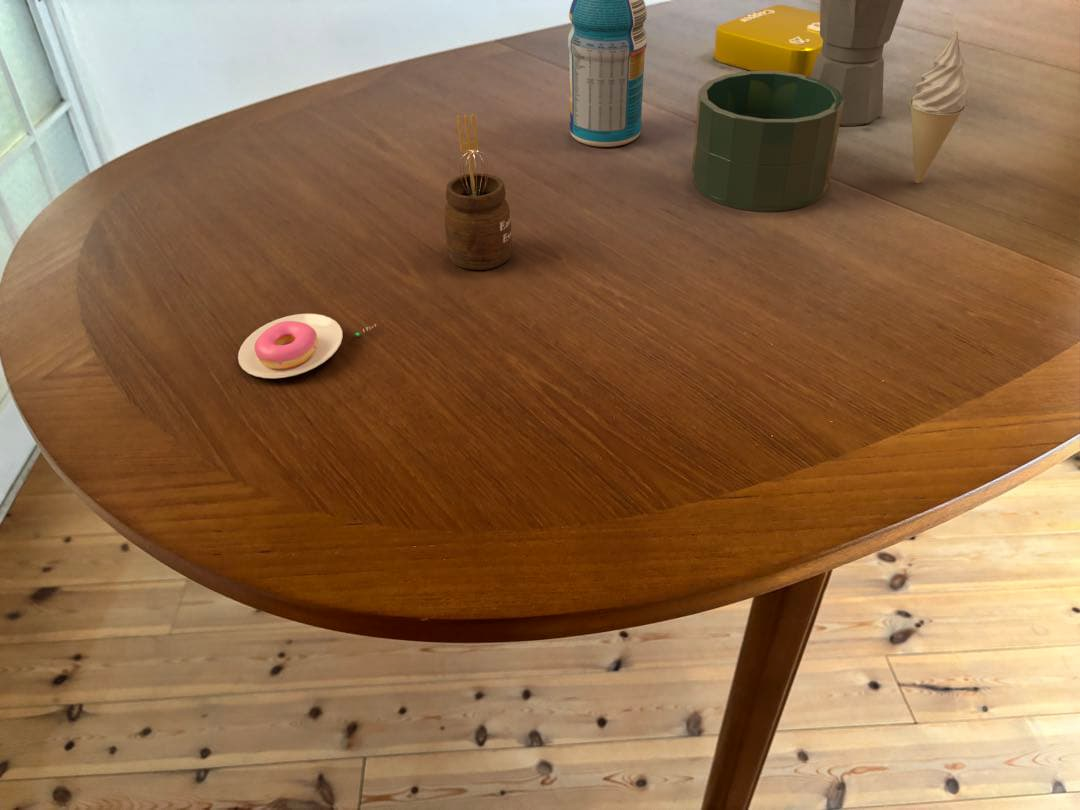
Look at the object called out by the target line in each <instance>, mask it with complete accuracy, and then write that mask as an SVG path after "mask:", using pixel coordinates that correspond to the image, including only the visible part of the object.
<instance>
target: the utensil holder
mask: <svg viewBox="0 0 1080 810" xmlns="http://www.w3.org/2000/svg"><path fill="white" fill-rule="evenodd" d="M468 117H469V116H468V115H467V114H465V115H464V116H463V119H464V129H465V140H466V141H464V135H463V128H462V118H461V116H460V115H457V117H456V121H457V130H458V131H457V132H458V140H459V141H458V142H459V149H460V152H461V154H463V155H462V157H461V159H460V162H459V167H460V168H459V171H460V172H459V174H460V175H458V176H457V177H454V178H452V179H451V180H449V182H448V183H447V184H446V189H445V199H446V202H447V203H446V205H445V207H444V215H443V216H444V232H445V239H446V248H447V252H448V256H449V259H450V261H451V262H452V263H453V264H454V265H456V266H457V267H459V268H461V269H464V270H470V271H486V270H492V269H494V268H498V267H500V266H502V265H503V264H505V263H506V262H507V261H508V260H509V259H510V257H511V255H512V252H513V251H512V249H513V234H512V217H511V209H510V205H509V203H508V201H507V200H506V196H507V195H506V194H507V192H506V188H505V184H504V181H503V180H502V179H501V178H500V177H498V176H496V175H493V174H491V173H490V174H489V173H485V172H484V171H483V170H484V169H486V168H487V170H489V165H488V164H489V163H488V162H486V165H485V162H484V160H483V156H484V157H485V159H486V160H485V161H488V158H487V156H486V155H485V154H484V152H482V151H481V150H480V149H479V144H478V136H477V135H478V134H477V126H476V116H475V114H471V115H470V121H471V130H472V139H473V140H472V141H471V136H470V126H469V125H470V124H469V118H468ZM475 154H477V155H478V157H480V159H481V172H475V173H474V169H475V170H477V164H476V163H473V159H474V161H476V157H475ZM465 156H467V159H466V163H465V165H467V164H468V169H469V173H465V168H464V165H462V161H463V159H464V157H465ZM473 164H474V165H473ZM474 166H475V167H474ZM462 169H463V170H462ZM462 171H463V173H465V174H462ZM483 172H484V173H483Z"/></svg>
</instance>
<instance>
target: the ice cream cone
mask: <svg viewBox="0 0 1080 810" xmlns="http://www.w3.org/2000/svg"><path fill="white" fill-rule="evenodd" d="M964 65H965V60H964V58H963V56H962V53H961V46H960V41H959V31H958V30H956V31H955V33H954V34H953V36H952V37H951V39H950V40H949V42H948V43H947V44H946V45H945V47H944V48H943V50H942V51H941V52H940V54H938V56H937V57H936V58H935V60H934V61H933V68H932V69H931V70H930V71H928V72H926V73H923V74H922V75H921V76H920V78H921V82H918V83H916V84H915V87H914V88H915V90H916V91H917V94H915V95H914V96H912V98H911V99H910V100H909V105H910V109H911V110H910V111H911V112H910V113H911V114H910V115H911V132H912V133H911V134H912V136H911V137H912V151H913V169H914V171H913V172H914V183H915V184H921V182H922V181H923V179H924V177H925V175H926V174H927V172H928V170H929V169H930V167H931V165H932V163H933V162H934V160H935V158H936V157H937V155H938V153H939V152H940V149H941V148H942V146H943V144H944V143H945V141H946V139H947V138H948V136H949V134H950V133H951V131H952V130H953V127H954V126H955V124H956V121H957V120H958V118H959V117H960V116H961V114H962V112H964V111H965V109H966V106H965V104H966V103H967V102H968V98H969V96H970V91H971V86H970V82H969V81H968V78H967V77H966V75H965V73H964V70H963V68H964Z"/></svg>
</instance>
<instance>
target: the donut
mask: <svg viewBox="0 0 1080 810" xmlns="http://www.w3.org/2000/svg"><path fill="white" fill-rule="evenodd" d="M374 327H375V328H376V327H377V324H376V323H374V326H373V325H372V326H368V327H365V329H366V331H367V332H369V330H371V331H372V329H374ZM365 329H364V328H363V329H362V331H363V334H364V333H366V331H365ZM343 334H344V333H343V329H342V326H341V325H340V324H339V323H338V322H337V321H336V320H335V319H333V318H332V317H329V316H327V315H323V314H318V313H298V314H293V315H292V314H291V315H287V316H284V317H281V318H277V319H274V320H272V321H270V322H267V323H266V324H264V325H262V326H261V327H258V328H257V329H256V330H254V331H253V332H252V333H251V334H250V335H249V336H248V337H246V338H245V340H244V341H243V342H242V344H241V345H240V347H239V350H238V354H237V361H238V365H239V366H240V368H241V369H242V370H243V371H245V372H246V373H247V374H249V375H251V376H254V377H257V378H262V379H273V380H274V379H284V378H289V377H295V376H298V375H301V374H304V373H307V372H309V371H311V370H314V369H315V368H317V367H319V366H321V365H322V364H324V363H325V362H327V361H328V360H329V359H330V358H332V357H333V355H334V354H335V353H337V351H338V349H339V347H340V346H341V345H342V342H343ZM354 335H355V337H357V338H358V337H360V333H359V332H355V334H354Z"/></svg>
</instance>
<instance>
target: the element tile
mask: <svg viewBox="0 0 1080 810" xmlns="http://www.w3.org/2000/svg"><path fill="white" fill-rule="evenodd" d="M715 31H716V32H715V38H714V39H715V41H714V52H713V57H714V60H715V61H717V62H718V63H721V64H725V65H728V66H732V67H735V68H738V69H743V70H745V71H778V72H785V73H793V74H800V75H804V76H807V77H811V74H812V71H813V68H814V65H815V62H816V59H817V56H818V55H819V54H820V53H821V50H822V44H823V39H822V38H821V36H820V12H816V11H813V10H808V9H804V8H800V7H796V6H790V5H786V4H776V5H771V6H769V7H766V8H762V9H760V10H757V11H754V12H751V13H748V14H746V15H743V16H739V17H737V18H734V19H732V20H729V21H726V22H723V23H721V24H718V25H717V26H716V29H715Z"/></svg>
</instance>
